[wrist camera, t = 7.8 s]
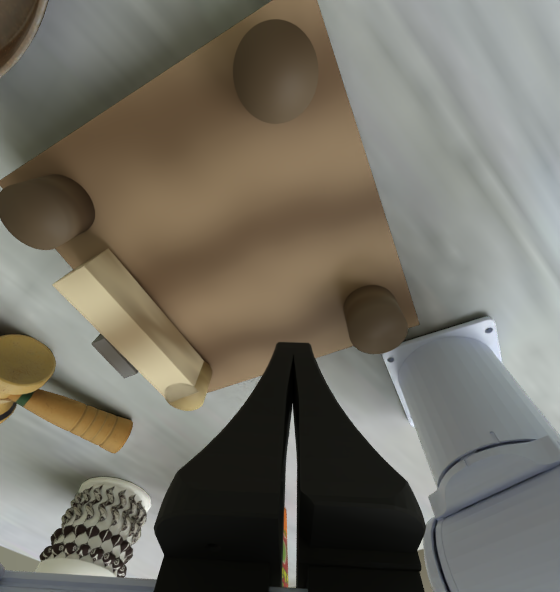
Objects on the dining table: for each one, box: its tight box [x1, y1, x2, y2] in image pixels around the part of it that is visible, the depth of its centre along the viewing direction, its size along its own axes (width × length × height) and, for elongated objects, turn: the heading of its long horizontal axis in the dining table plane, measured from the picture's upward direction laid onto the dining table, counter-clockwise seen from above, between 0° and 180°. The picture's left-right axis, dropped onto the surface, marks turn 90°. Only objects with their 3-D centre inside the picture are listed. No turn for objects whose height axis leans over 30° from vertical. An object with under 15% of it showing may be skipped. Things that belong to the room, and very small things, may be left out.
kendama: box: [0, 334, 133, 453], centre depth 26 cm, size 8×6×18 cm
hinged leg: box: [53, 248, 212, 411], centre depth 20 cm, size 11×3×2 cm, turn 28°
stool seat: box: [0, 0, 420, 393], centre depth 18 cm, size 18×18×5 cm
